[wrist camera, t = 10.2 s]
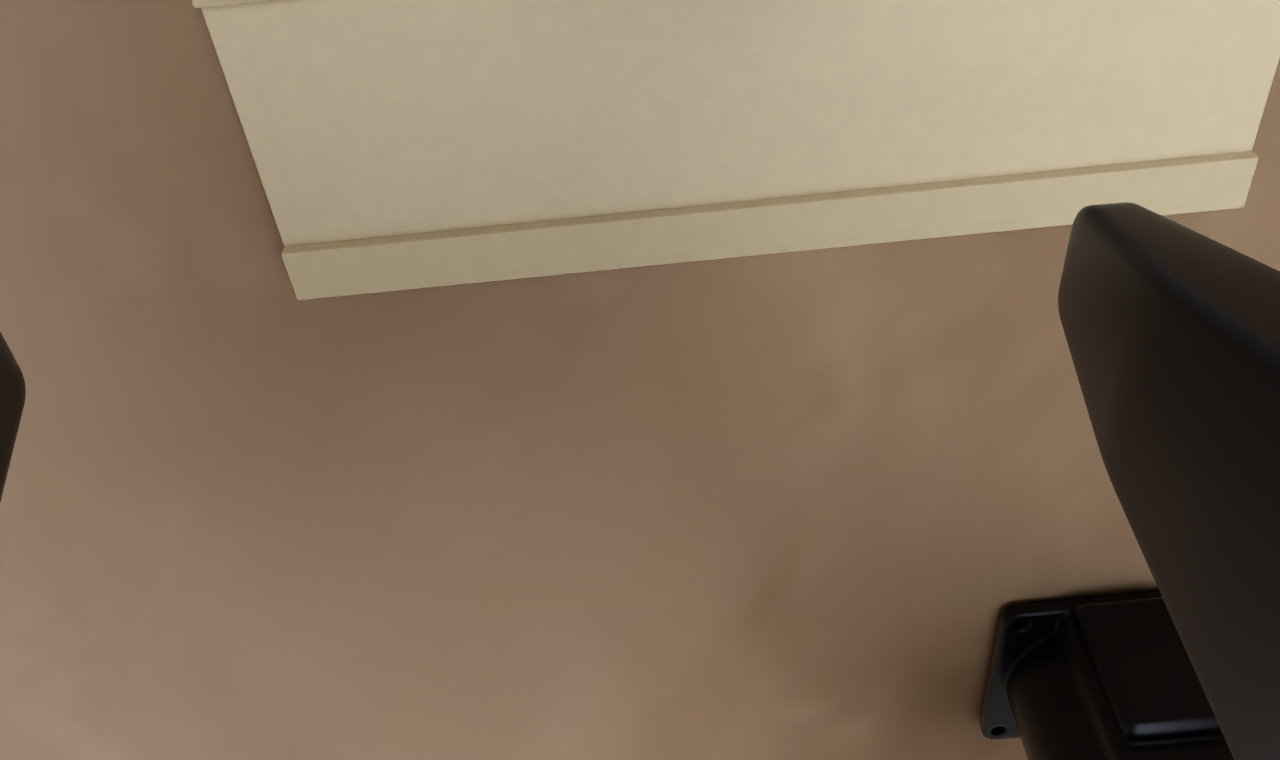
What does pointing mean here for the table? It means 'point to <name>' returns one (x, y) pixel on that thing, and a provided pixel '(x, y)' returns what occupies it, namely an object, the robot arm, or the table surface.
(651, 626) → the table surface
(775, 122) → the crown molding piece
